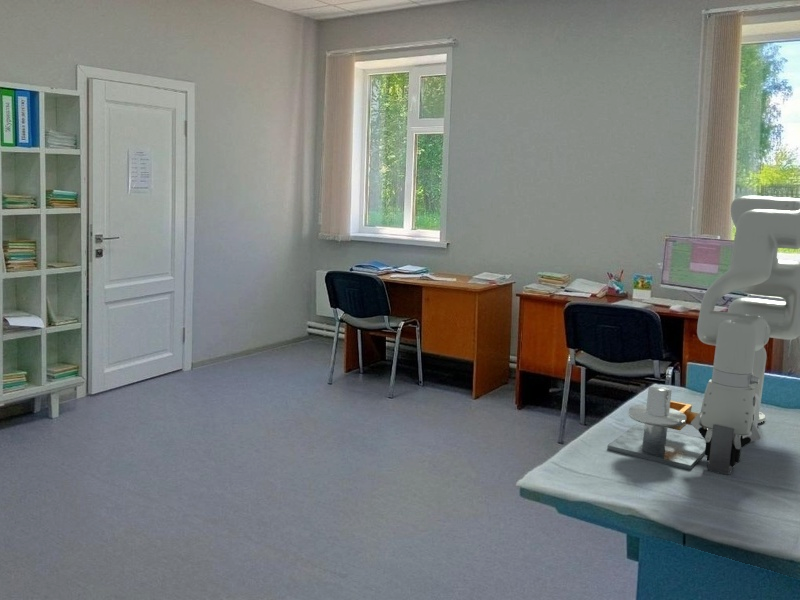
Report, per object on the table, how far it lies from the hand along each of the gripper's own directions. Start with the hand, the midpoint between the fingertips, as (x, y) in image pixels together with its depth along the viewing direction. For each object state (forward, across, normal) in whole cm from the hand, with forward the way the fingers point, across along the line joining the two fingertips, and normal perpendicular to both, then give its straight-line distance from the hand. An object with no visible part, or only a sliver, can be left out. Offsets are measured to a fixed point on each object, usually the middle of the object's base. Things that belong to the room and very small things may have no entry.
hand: (721, 461), depth 160 cm
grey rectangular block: (+2, 0, 0) cm, 2 cm away
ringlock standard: (+2, +12, -4) cm, 12 cm away
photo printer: (+2, +1, -22) cm, 22 cm away
